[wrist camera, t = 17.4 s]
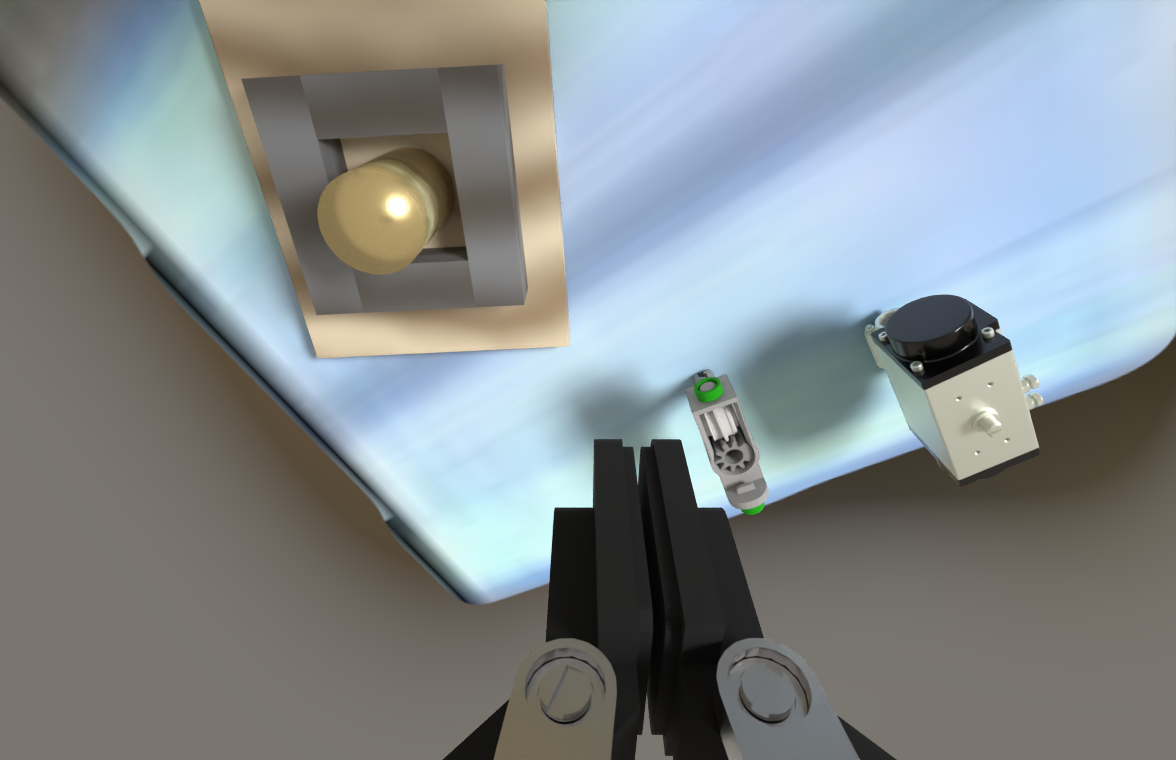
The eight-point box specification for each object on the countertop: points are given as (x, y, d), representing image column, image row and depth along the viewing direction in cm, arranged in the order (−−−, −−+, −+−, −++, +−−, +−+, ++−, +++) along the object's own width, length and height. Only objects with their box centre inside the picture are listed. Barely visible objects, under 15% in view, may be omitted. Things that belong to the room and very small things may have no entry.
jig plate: (209, -17, 30) (153, -29, 26) (543, -37, 29) (537, -51, 26) (326, 348, 41) (299, 379, 37) (570, 336, 41) (568, 366, 37)
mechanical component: (705, 434, 45) (734, 523, 36) (663, 329, 40) (685, 403, 32) (740, 421, 45) (778, 509, 36) (702, 314, 40) (735, 385, 31)
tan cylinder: (364, 146, 33) (305, 170, 26) (450, 147, 33) (414, 171, 26) (380, 231, 35) (330, 274, 28) (459, 232, 35) (429, 274, 28)
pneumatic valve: (883, 406, 44) (977, 514, 34) (833, 289, 39) (924, 373, 29) (954, 374, 43) (1075, 476, 32) (911, 247, 37) (1038, 320, 27)
